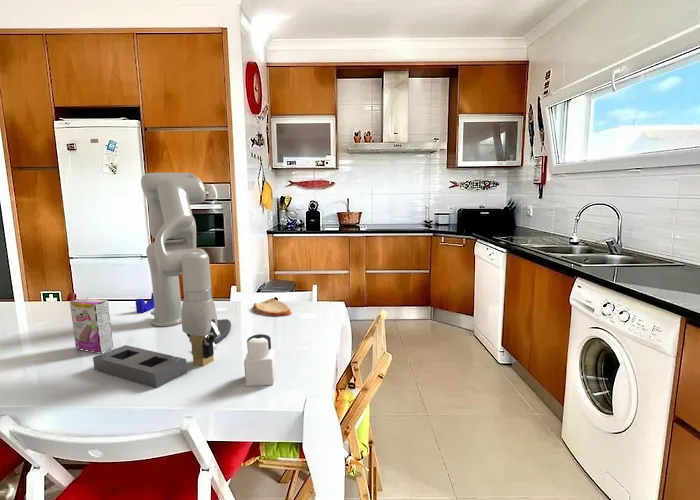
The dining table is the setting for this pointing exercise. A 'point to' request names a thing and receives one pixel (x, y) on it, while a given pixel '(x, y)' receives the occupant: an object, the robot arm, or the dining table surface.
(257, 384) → the medicine bottle
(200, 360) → the brass peg
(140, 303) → the cable clip
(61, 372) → the dining table surface
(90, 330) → the candy bar box
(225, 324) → the spray bottle
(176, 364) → the grey peg hole block
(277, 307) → the slice of bread
